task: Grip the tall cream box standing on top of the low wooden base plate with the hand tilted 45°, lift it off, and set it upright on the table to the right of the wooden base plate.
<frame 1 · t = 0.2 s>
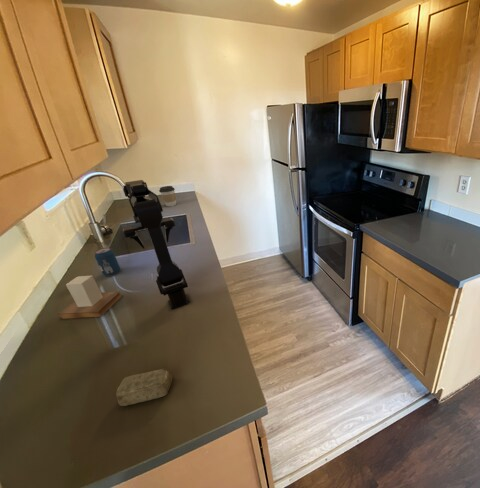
hand: (155, 245, 120), 15 cm above the worktop, tool pointing down, fingers open, 9 cm apart
soda can: (112, 273, 129), on the worktop
wooden base plate: (93, 307, 106), on the worktop
stone block: (148, 393, 71), on the worktop
cream box: (90, 302, 105), point 2 cm above the worktop, touching wooden base plate
coffee cup: (171, 205, 229), on the worktop
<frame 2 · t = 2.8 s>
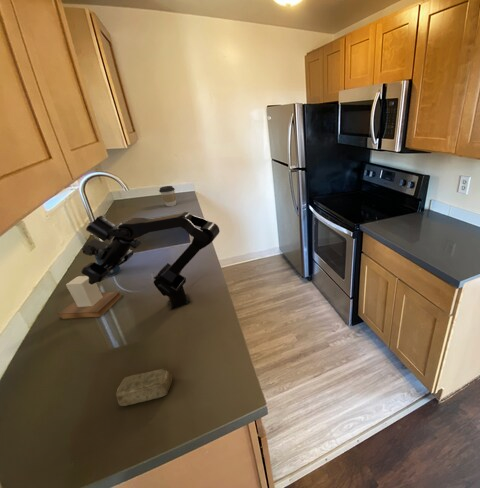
hand: (99, 276, 100), 13 cm above the worktop, tool tilted 45°, fingers open, 9 cm apart
nothing on the worktop moved.
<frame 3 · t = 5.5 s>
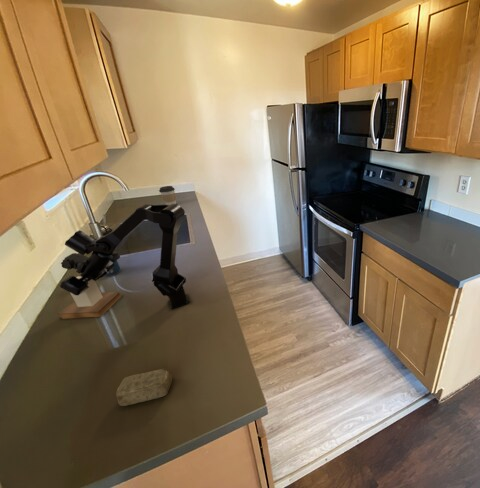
hand: (80, 288, 102), 9 cm above the worktop, tool tilted 45°, fingers closed on cream box, 5 cm apart
cream box: (90, 302, 105), point 3 cm above the worktop, touching gripper, wooden base plate
everything else where it was.
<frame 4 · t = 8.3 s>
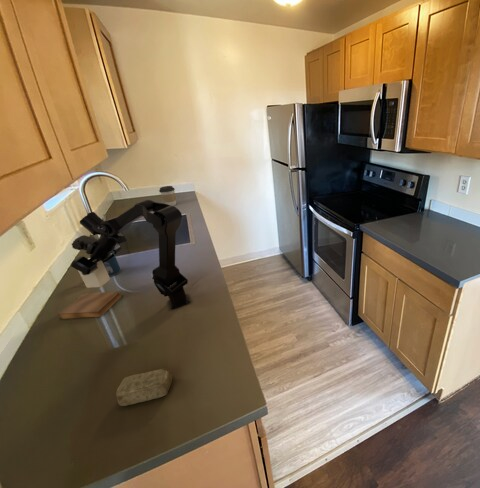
hand: (89, 270, 107), 13 cm above the worktop, tool tilted 45°, fingers closed on cream box, 5 cm apart
cream box: (98, 283, 109), point 6 cm above the worktop, touching gripper
everything else where it was.
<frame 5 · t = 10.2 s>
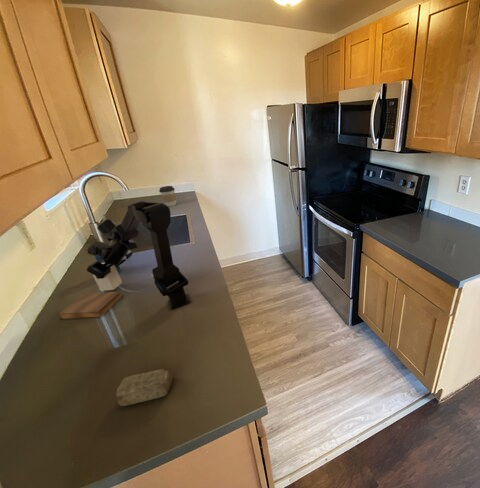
hand: (102, 274, 113), 8 cm above the worktop, tool tilted 45°, fingers closed on cream box, 5 cm apart
cream box: (111, 286, 116), point 2 cm above the worktop, touching gripper
everything else where it was.
when the fingers open (6 cm above the worktop, at t = 11.3 s): cream box stays where it is, on the worktop.
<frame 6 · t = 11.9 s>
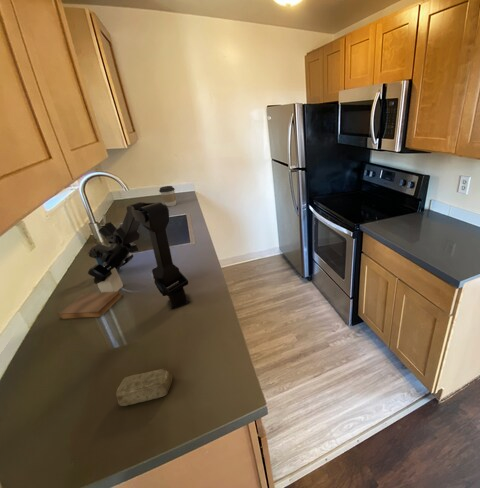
hand: (103, 276, 113), 7 cm above the worktop, tool tilted 45°, fingers open, 9 cm apart
cream box: (112, 289, 116), on the worktop
everything else where it was.
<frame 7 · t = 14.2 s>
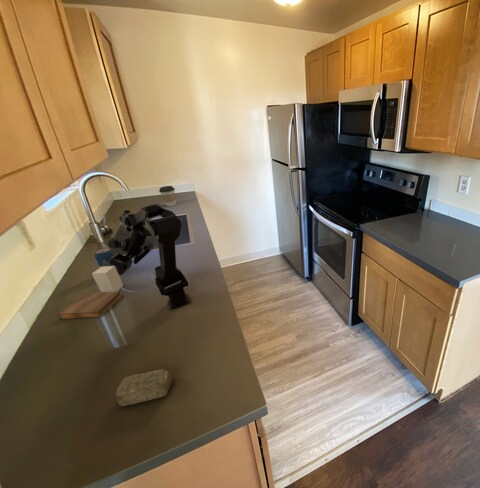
hand: (127, 269, 112), 10 cm above the worktop, tool tilted 35°, fingers open, 9 cm apart
nothing on the worktop moved.
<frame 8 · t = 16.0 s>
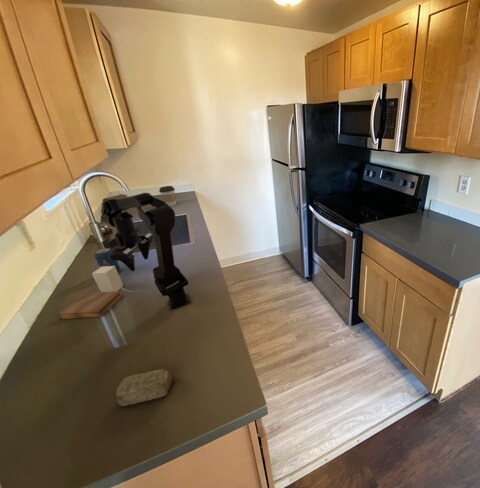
hand: (139, 264, 110), 12 cm above the worktop, tool pointing down, fingers open, 9 cm apart
nothing on the worktop moved.
at the end: cream box inside the target area (0.1 cm from its centre), on the worktop; cream box touching worktop; cream box tilted 0° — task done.
